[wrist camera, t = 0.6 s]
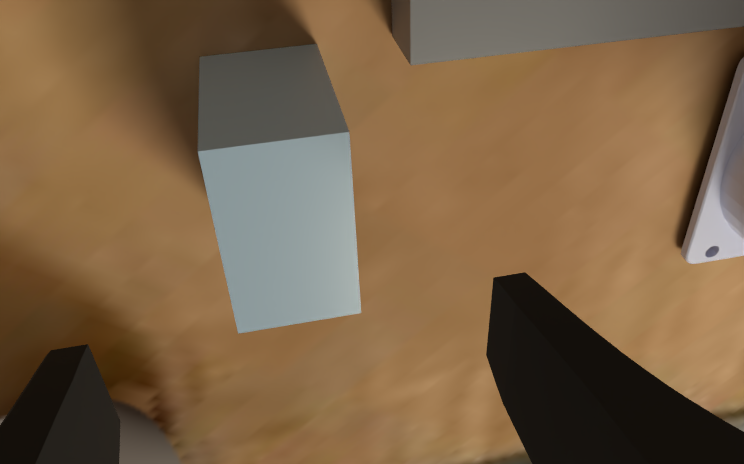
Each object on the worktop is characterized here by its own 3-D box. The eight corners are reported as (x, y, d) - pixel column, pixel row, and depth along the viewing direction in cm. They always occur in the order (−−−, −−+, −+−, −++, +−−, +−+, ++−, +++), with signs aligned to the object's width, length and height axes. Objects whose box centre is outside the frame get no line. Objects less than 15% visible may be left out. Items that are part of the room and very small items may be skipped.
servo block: (316, 43, 17) (349, 132, 13) (331, 202, 20) (361, 312, 16) (199, 56, 17) (197, 151, 13) (232, 216, 20) (238, 333, 16)
